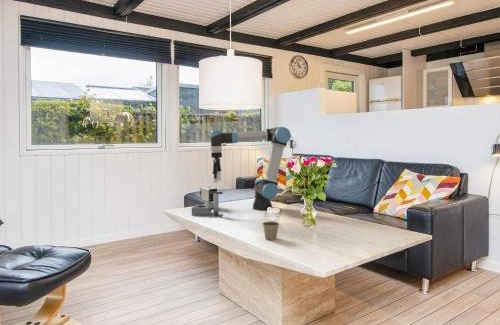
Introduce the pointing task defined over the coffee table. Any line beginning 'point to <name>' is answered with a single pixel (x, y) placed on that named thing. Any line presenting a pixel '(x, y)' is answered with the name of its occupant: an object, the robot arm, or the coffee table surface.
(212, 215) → the pad
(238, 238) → the coffee table surface
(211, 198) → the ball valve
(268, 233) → the flower pot
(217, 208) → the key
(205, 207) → the chuck
